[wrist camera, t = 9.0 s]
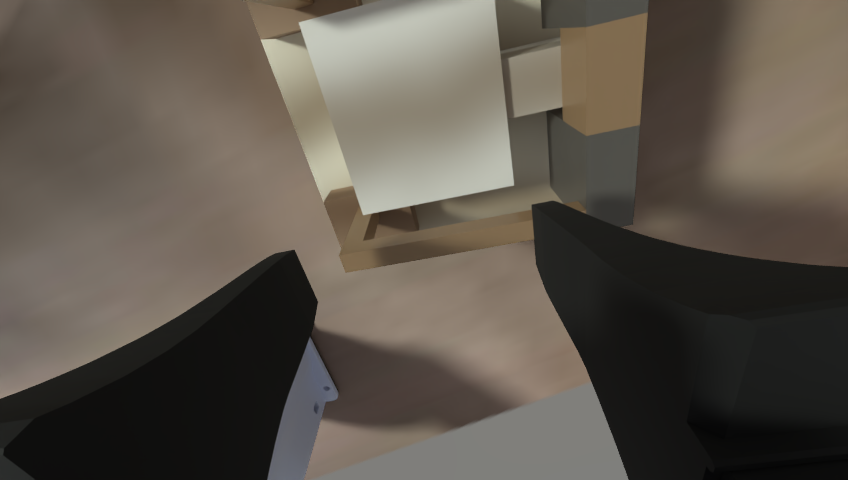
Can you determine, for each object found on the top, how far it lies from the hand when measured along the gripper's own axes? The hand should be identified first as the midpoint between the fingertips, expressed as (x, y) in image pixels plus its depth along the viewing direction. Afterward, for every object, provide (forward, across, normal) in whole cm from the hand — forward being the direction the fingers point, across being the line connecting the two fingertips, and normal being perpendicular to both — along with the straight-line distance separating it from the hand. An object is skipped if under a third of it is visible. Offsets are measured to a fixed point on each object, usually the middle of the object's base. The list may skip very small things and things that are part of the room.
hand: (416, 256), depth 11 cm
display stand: (+10, -2, -3) cm, 11 cm away
